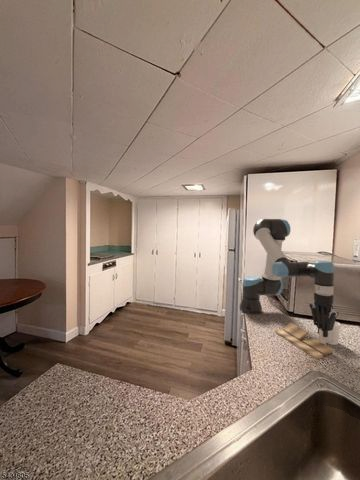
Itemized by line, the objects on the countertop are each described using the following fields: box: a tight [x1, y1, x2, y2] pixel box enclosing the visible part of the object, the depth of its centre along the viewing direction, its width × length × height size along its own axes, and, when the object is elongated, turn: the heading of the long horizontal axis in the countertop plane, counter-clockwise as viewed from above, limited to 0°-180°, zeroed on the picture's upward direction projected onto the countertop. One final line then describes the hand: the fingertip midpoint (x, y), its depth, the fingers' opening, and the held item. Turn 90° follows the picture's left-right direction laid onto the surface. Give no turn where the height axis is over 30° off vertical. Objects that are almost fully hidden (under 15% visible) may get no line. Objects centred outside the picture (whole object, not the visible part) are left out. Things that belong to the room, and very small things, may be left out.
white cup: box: [325, 320, 341, 346], centre depth 103 cm, size 8×8×10 cm
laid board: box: [274, 329, 325, 359], centre depth 101 cm, size 24×4×1 cm, turn 16°
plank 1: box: [282, 322, 309, 342], centre depth 108 cm, size 11×6×1 cm
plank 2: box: [301, 336, 334, 356], centre depth 97 cm, size 11×6×1 cm, turn 17°
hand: (322, 342), depth 97 cm, fingers closed
